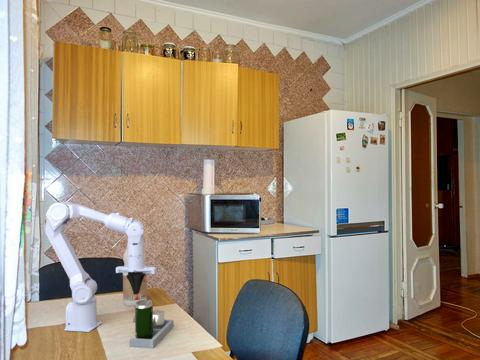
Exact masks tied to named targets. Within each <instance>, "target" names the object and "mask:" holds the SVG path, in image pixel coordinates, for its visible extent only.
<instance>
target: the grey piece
mask: <svg viewBox="0 0 480 360" xmlns="http://www.w3.org/2000/svg"><path fill="white" fill-rule="evenodd" d="M173 327H174V319H164V327H163V328H162V329H154V328H153V338H152V339H138V338H135V337H131V338H130V339H129V348H143V349H154V348H155V347H156V346H157V345H158V344H159V343H160V342H161V340H163V338H165V336H167V334H168V333H169V332H170V331H171V330H172V329H173Z"/></svg>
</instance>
